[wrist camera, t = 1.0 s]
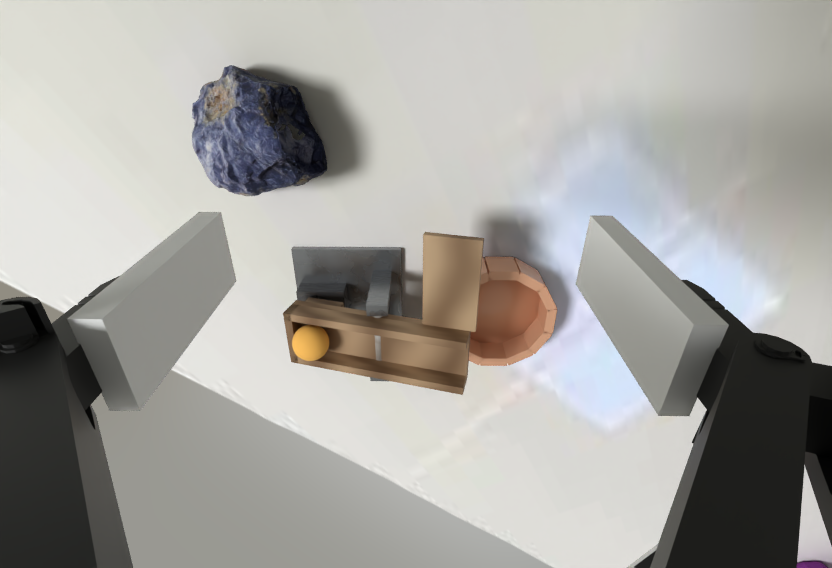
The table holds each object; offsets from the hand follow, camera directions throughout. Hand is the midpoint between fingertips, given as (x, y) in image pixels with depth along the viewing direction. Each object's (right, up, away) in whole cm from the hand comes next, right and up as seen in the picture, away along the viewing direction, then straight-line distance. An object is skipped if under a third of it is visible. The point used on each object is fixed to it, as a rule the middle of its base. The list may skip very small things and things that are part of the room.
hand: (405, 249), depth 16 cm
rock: (-14, +13, +25) cm, 32 cm away
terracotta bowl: (+9, -4, +34) cm, 36 cm away
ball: (-10, -7, +28) cm, 30 cm away
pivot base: (-7, -3, +34) cm, 35 cm away
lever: (-3, -2, +28) cm, 28 cm away
